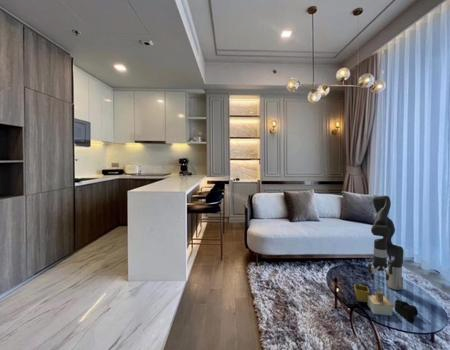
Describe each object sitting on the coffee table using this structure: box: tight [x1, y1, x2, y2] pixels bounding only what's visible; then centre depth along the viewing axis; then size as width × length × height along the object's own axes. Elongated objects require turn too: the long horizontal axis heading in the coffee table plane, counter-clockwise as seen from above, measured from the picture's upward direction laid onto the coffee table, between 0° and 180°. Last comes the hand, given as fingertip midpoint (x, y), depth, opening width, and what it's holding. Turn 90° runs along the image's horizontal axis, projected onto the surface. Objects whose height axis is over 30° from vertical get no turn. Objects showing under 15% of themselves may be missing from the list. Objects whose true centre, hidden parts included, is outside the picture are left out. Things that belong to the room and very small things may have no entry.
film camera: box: [394, 298, 419, 324], centre depth 160 cm, size 15×10×9 cm, turn 178°
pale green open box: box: [367, 298, 393, 316], centre depth 166 cm, size 11×11×6 cm
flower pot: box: [353, 284, 370, 303], centre depth 179 cm, size 9×9×9 cm
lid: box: [367, 290, 394, 308], centre depth 166 cm, size 12×12×7 cm
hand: (379, 279), depth 166 cm, fingers open, 8 cm apart
